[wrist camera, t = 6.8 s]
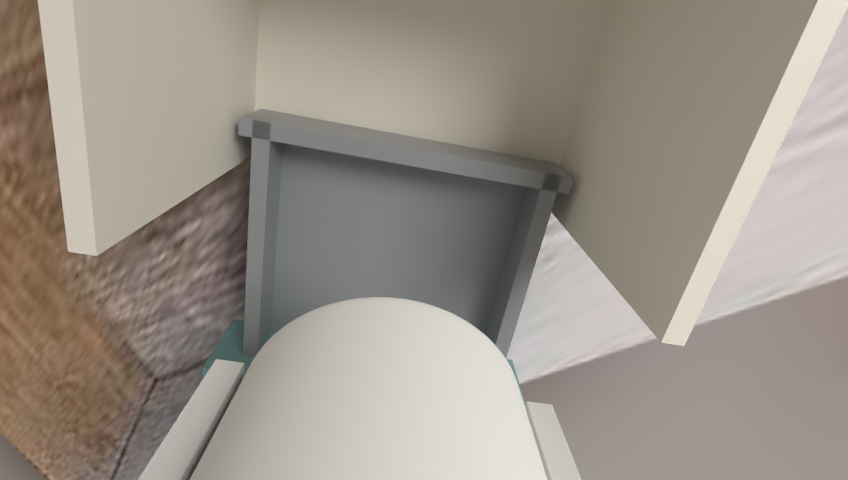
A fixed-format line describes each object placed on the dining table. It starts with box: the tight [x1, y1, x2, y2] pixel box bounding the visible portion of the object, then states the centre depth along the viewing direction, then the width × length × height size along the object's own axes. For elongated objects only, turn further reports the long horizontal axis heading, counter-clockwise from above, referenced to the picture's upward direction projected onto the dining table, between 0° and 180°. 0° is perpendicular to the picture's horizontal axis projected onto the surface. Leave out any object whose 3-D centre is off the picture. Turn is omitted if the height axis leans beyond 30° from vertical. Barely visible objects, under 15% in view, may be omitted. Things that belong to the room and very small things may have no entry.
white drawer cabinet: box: [38, 0, 848, 346], centre depth 17 cm, size 14×18×14 cm
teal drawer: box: [202, 109, 574, 406], centre depth 24 cm, size 14×18×5 cm
